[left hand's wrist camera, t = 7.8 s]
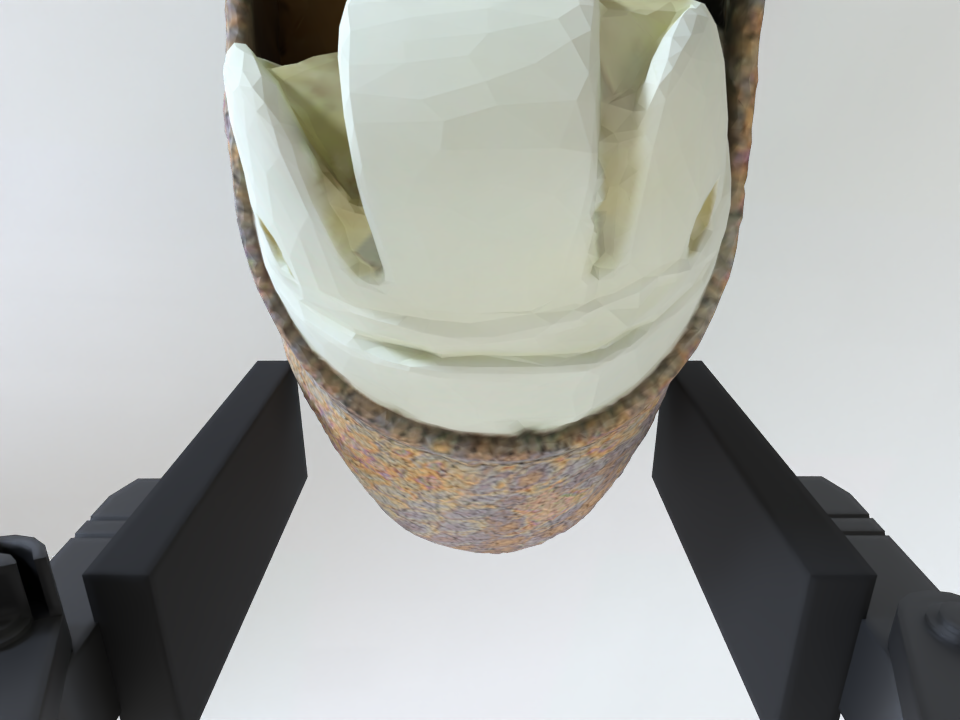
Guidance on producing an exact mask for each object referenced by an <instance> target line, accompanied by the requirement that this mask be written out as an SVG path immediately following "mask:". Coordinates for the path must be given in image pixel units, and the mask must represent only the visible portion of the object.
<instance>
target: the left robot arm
mask: <svg viewBox="0 0 960 720" xmlns="http://www.w3.org/2000/svg"><path fill="white" fill-rule="evenodd" d="M307 477H308V476H307V467H306V458H305V449H304V439H303V430H302V421H301V412H300V403H299V393H298V384H297V380H296V378H295V376H294V373H293V371H292V369H291V366H290V364H289V361H257V362H256V364H255V365H254V366H253V367H252V368H251V370H250V371H249V372H248V373H247V374H246V376H245V377H244V378H243V379H242V381H241V382H240V383H239V384H238V385H237V387H236V388H235V389H234V390H233V392H232V393H231V394H230V395H229V396H228V398H227V399H226V400H225V401H224V402H223V404H222V405H221V406H220V407H219V409H218V410H217V411H216V412H215V413H214V415H213V416H212V417H211V418H210V420H209V421H208V422H207V423H206V424H205V426H204V427H203V428H202V429H201V430H200V432H199V433H198V434H197V435H196V437H195V438H194V439H193V440H192V441H191V443H190V444H189V445H188V446H187V448H186V449H185V450H184V451H183V452H182V454H181V455H180V456H179V457H178V458H177V460H176V461H175V462H174V463H173V465H172V466H171V467H170V468H169V469H168V471H167V472H166V473H165V474H164V476H163V477H162V478H161V479H137V480H135V481H133V482H132V483H130V484H128V485H127V486H125V487H124V488H122V489H120V490H119V491H117V492H115V493H114V494H112V495H110V496H109V497H108V498H107V499H106V500H105V502H104V503H103V504H102V505H101V506H100V507H99V508H98V509H97V510H96V511H95V512H94V514H93V515H92V516H91V520H90V521H86V522H85V523H84V525H83V526H82V527H81V528H80V529H79V530H78V531H77V532H76V533H75V538H71V539H70V540H69V541H68V542H67V543H66V544H65V545H64V546H63V548H62V549H61V550H60V551H59V552H58V553H57V554H56V555H55V556H54V557H53V558H52V560H51V561H49V558H48V554H47V551H46V547H45V545H44V544H43V543H41V542H40V541H38V540H37V539H36V538H34V537H27V536H20V535H10V536H0V720H117V718H118V717H119V716H120V720H200V717H201V715H202V713H203V711H204V708H205V706H206V704H207V702H208V699H209V697H210V695H211V693H212V690H213V688H214V686H215V684H216V681H217V679H218V677H219V675H220V672H221V670H222V668H223V666H224V663H225V661H226V659H227V657H228V654H229V652H230V650H231V648H232V645H233V643H234V641H235V639H236V636H237V634H238V632H239V630H240V627H241V625H242V623H243V621H244V618H245V616H246V614H247V612H248V609H249V607H250V605H251V603H252V600H253V598H254V596H255V594H256V591H257V589H258V587H259V585H260V582H261V580H262V578H263V576H264V574H265V571H266V569H267V567H268V565H269V562H270V560H271V558H272V556H273V553H274V551H275V549H276V547H277V544H278V542H279V540H280V538H281V535H282V533H283V531H284V529H285V526H286V524H287V522H288V520H289V517H290V515H291V513H292V511H293V508H294V506H295V504H296V502H297V499H298V497H299V495H300V493H301V490H302V488H303V486H304V484H305V481H306V479H307ZM652 478H653V480H654V483H655V485H656V487H657V489H658V492H659V494H660V496H661V498H662V501H663V503H664V505H665V507H666V510H667V512H668V514H669V516H670V519H671V521H672V523H673V525H674V528H675V530H676V532H677V534H678V537H679V539H680V541H681V543H682V546H683V548H684V550H685V552H686V555H687V557H688V559H689V561H690V564H691V566H692V568H693V570H694V573H695V575H696V577H697V579H698V582H699V584H700V586H701V588H702V591H703V593H704V595H705V597H706V600H707V602H708V604H709V606H710V609H711V611H712V613H713V615H714V618H715V620H716V622H717V624H718V627H719V629H720V631H721V633H722V636H723V638H724V640H725V642H726V644H727V647H728V649H729V651H730V653H731V656H732V658H733V660H734V662H735V665H736V667H737V669H738V671H739V674H740V676H741V678H742V680H743V683H744V685H745V687H746V689H747V692H748V694H749V696H750V698H751V701H752V703H753V705H754V707H755V710H756V712H757V714H758V716H759V719H760V720H839V718H840V714H842V716H843V717H844V719H845V720H960V595H957V594H953V593H949V592H941V591H939V590H938V589H937V587H936V586H935V585H934V584H933V583H932V582H931V581H930V580H929V579H928V578H927V577H926V575H925V574H924V573H923V572H922V571H921V570H920V569H919V568H918V567H917V566H916V565H915V564H914V562H913V561H912V560H911V559H910V558H909V557H908V556H907V555H906V554H905V553H904V552H903V550H902V549H901V548H900V547H899V546H898V545H897V544H896V543H895V542H894V541H893V540H892V539H891V537H890V536H885V531H884V530H883V529H882V528H881V527H880V525H879V524H878V523H877V522H876V521H875V520H874V519H873V518H869V513H868V512H867V511H866V510H865V509H864V508H863V507H862V506H861V505H860V504H859V503H858V502H857V500H856V499H855V498H854V497H853V496H852V495H851V494H850V493H848V492H847V491H845V490H843V489H842V488H840V487H838V486H837V485H835V484H833V483H832V482H830V481H829V480H827V479H825V478H824V477H822V476H796V475H795V474H794V473H793V471H792V470H791V469H790V468H789V467H788V465H787V464H786V463H785V462H784V460H783V459H782V458H781V457H780V456H779V454H778V453H777V452H776V451H775V450H774V448H773V447H772V446H771V445H770V443H769V442H768V441H767V440H766V439H765V437H764V436H763V435H762V434H761V432H760V431H759V430H758V429H757V428H756V426H755V425H754V424H753V423H752V422H751V420H750V419H749V418H748V417H747V415H746V414H745V413H744V412H743V411H742V409H741V408H740V407H739V406H738V404H737V403H736V402H735V401H734V400H733V398H732V397H731V396H730V395H729V394H728V392H727V391H726V390H725V389H724V387H723V386H722V385H721V384H720V383H719V381H718V380H717V379H716V378H715V376H714V375H713V374H712V373H711V372H710V370H709V369H708V368H707V367H706V366H705V364H704V363H703V362H702V361H687V362H686V363H685V365H684V366H683V367H682V369H681V370H680V371H679V373H678V374H677V375H676V376H675V377H674V378H673V380H672V381H671V382H670V384H669V386H668V389H667V391H666V394H665V397H664V399H663V400H662V403H661V406H660V408H659V415H658V425H657V434H656V443H655V452H654V462H653V471H652Z"/></svg>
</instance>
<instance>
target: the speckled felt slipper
mask: <svg viewBox="0 0 960 720" xmlns="http://www.w3.org/2000/svg"><path fill="white" fill-rule="evenodd" d="M764 5H765V0H225V17H226V34H227V39H226V57H225V62H224V66H223V79H224V86H225V93H224V105H223V112H224V120H225V133H226V136H227V139H228V151H229V154H230V161H231V169H232V177H233V187H234V197H235V207H236V213H237V222H238V226H239V230H240V234H241V239H242V243H243V247H244V250H245V254H246V257H247V260H248V264H249V267H250V270H251V273H252V276H253V279H254V281H255V284H256V286H257V289H258V291H259V294H260V295H261V297H262V299H263V301H264V303H265V305H266V307H267V309H268V311H269V313H270V315H271V317H272V319H273V321H274V323H275V325H276V327H277V329H278V330H279V332H280V334H281V337H282V341H283V344H284V348H285V352H286V356H287V359H288V361H289V364H290V366H291V369H292V371H293V373H294V376H295V378H296V380H297V382H298V384H299V386H300V388H301V390H302V392H303V394H304V397H305V398H306V400H307V401H308V403H309V405H310V407H311V409H312V410H313V411H314V412H315V414H316V416H317V418H318V420H319V421H320V423H321V424H322V426H323V428H324V430H325V432H326V433H327V435H328V436H329V439H330V441H331V443H332V444H333V446H334V448H335V449H336V450H337V451H338V453H339V454H340V455H341V457H342V458H343V460H344V461H345V463H346V464H347V466H348V467H349V469H350V470H351V471H352V473H353V474H354V475H355V476H356V478H357V479H358V480H359V482H360V483H361V484H362V485H363V487H364V488H365V490H366V491H367V492H368V493H369V494H370V495H371V496H372V497H373V498H374V499H375V501H376V502H377V503H378V505H379V506H380V507H381V509H382V510H383V511H384V512H385V513H386V514H387V515H389V516H390V517H391V518H392V519H393V520H394V521H396V522H397V523H398V524H399V525H401V526H402V527H403V528H404V529H406V530H408V531H410V532H411V533H413V534H414V535H416V536H419V537H421V538H424V539H426V540H428V541H431V542H434V543H437V544H440V545H444V546H447V547H451V548H455V549H460V550H465V551H470V552H475V553H492V554H500V553H509V552H514V551H518V550H521V549H524V548H528V547H531V546H535V545H539V544H542V543H544V542H545V541H547V540H548V539H551V538H553V537H555V536H556V535H558V534H559V533H563V532H565V531H567V530H568V529H570V528H571V527H572V526H574V525H575V524H577V523H578V522H579V521H580V520H581V519H583V518H584V517H585V516H586V515H587V514H588V513H589V512H590V511H591V510H592V509H593V508H594V506H595V505H596V503H597V502H598V501H599V500H600V499H601V498H602V497H603V496H604V494H605V493H606V492H607V491H608V489H609V488H610V487H611V486H612V484H613V483H614V481H615V480H616V479H617V478H618V477H619V476H620V475H621V474H622V473H623V470H624V468H625V467H626V465H627V464H628V462H629V461H630V458H631V456H632V455H633V453H634V452H635V450H636V449H637V447H638V446H639V445H640V443H641V442H642V440H643V439H644V437H645V436H646V434H647V432H648V430H649V429H650V427H651V425H652V423H653V421H654V418H655V415H656V413H657V411H658V410H659V408H660V406H661V403H662V400H663V399H664V397H665V394H666V391H667V389H668V386H669V384H670V382H671V381H672V380H673V378H674V377H675V376H676V375H677V374H678V373H679V371H680V370H681V369H682V367H683V366H684V365H685V363H686V362H687V361H688V359H689V358H690V357H691V355H692V354H693V353H694V351H695V350H696V349H697V347H698V345H699V343H700V341H701V339H702V337H703V335H704V333H705V331H706V329H707V327H708V325H709V323H710V321H711V319H712V317H713V315H714V313H715V310H716V308H717V305H718V303H719V300H720V298H721V295H722V293H723V291H724V288H725V286H726V284H727V282H728V279H729V276H730V273H731V269H732V265H733V261H734V257H735V253H736V248H737V241H738V233H739V226H740V223H741V221H742V218H743V206H744V197H745V191H744V185H745V181H746V178H747V172H748V161H749V155H750V149H751V143H752V121H753V114H754V104H755V93H756V87H757V83H758V67H757V65H758V49H759V39H760V31H761V26H762V20H763V14H764Z"/></svg>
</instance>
